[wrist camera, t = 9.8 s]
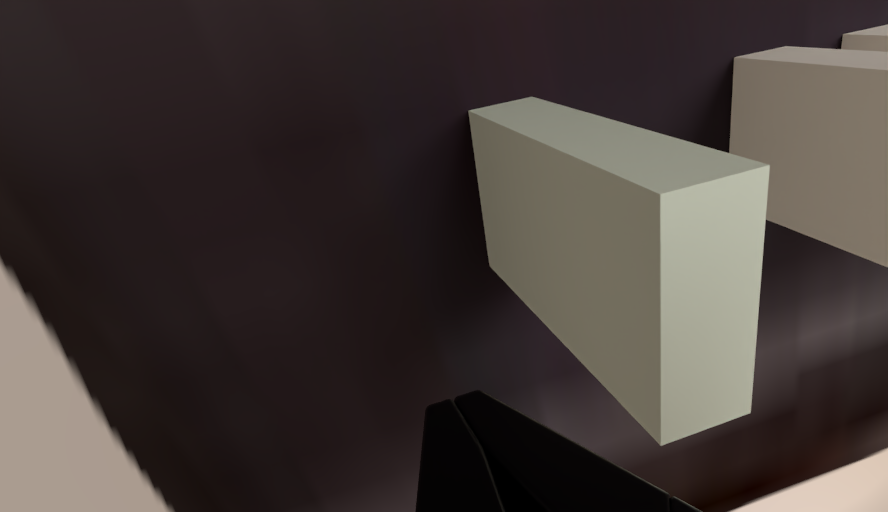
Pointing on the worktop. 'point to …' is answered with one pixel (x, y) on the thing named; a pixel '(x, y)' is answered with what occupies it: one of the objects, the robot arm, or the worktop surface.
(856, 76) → the domino
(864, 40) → the domino
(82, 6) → the worktop surface
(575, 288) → the domino
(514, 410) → the robot arm
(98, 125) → the worktop surface
